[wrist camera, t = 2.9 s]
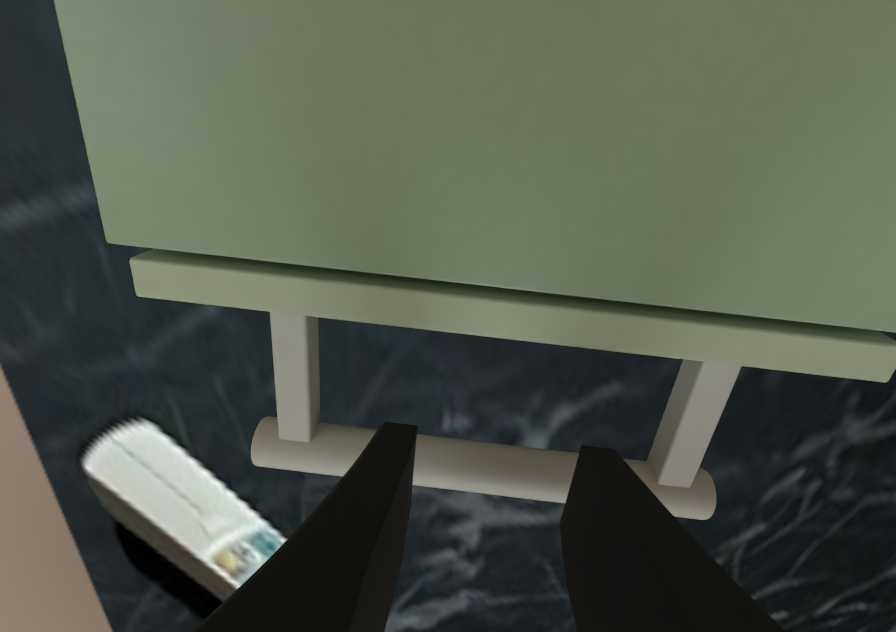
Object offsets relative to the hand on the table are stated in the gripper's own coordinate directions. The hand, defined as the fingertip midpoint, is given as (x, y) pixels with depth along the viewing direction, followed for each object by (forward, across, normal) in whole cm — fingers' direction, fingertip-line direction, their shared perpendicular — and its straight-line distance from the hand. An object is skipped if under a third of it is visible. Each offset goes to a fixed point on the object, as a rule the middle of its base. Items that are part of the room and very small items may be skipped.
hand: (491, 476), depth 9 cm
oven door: (+10, 0, -1) cm, 10 cm away
